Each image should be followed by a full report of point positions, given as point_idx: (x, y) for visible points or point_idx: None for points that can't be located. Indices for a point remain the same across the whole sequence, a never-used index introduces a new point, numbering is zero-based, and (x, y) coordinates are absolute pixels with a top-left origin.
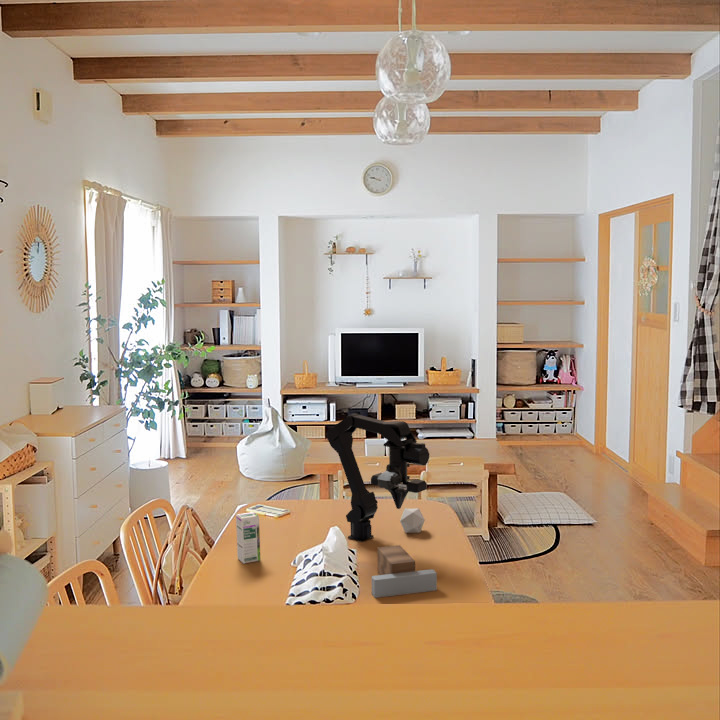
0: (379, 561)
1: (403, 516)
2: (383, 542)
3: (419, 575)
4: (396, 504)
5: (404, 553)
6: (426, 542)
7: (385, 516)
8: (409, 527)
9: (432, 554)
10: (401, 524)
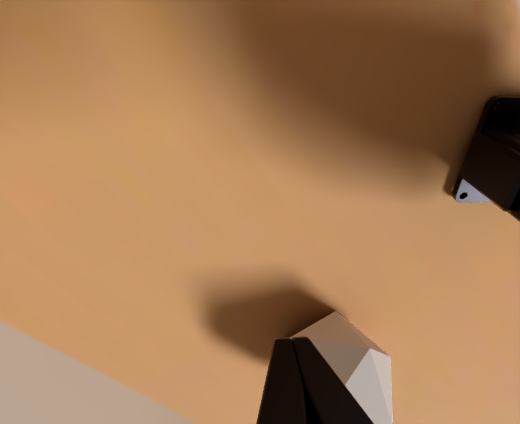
0: None
1: (369, 376)
2: (370, 165)
3: None
4: (317, 384)
5: None
6: (184, 279)
7: (485, 380)
8: (315, 332)
9: (28, 171)
10: (374, 343)
